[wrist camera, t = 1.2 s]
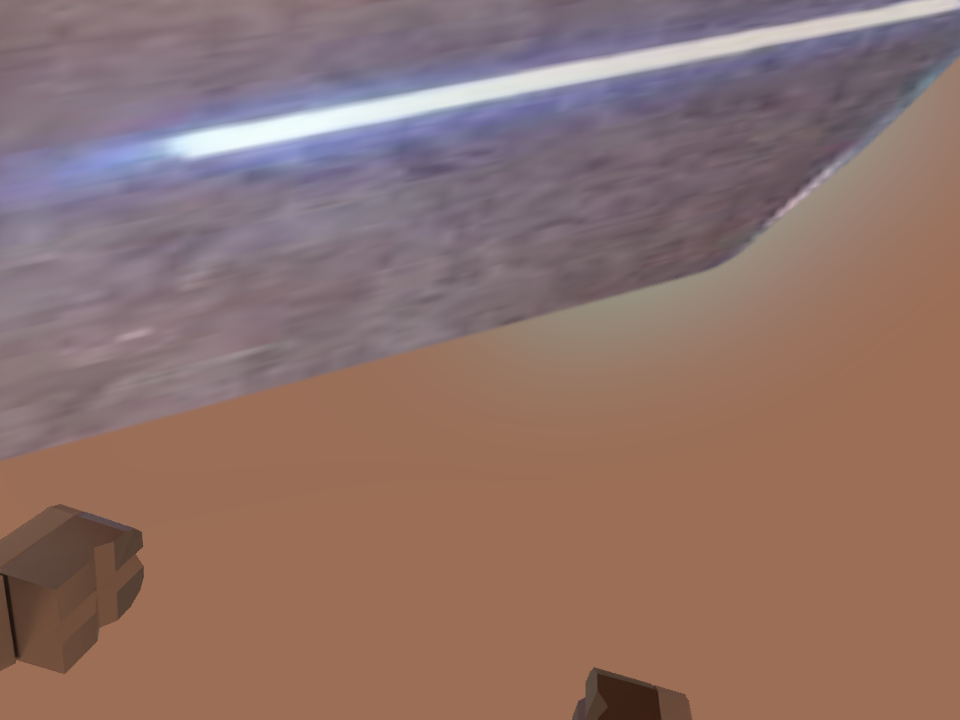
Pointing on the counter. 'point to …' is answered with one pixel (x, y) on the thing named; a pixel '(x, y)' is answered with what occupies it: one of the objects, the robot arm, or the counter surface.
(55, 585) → the robot arm
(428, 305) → the counter surface
